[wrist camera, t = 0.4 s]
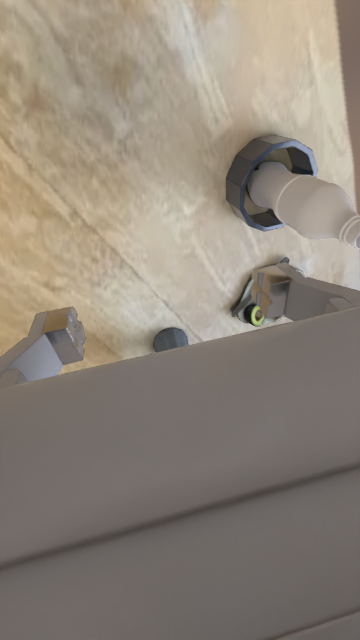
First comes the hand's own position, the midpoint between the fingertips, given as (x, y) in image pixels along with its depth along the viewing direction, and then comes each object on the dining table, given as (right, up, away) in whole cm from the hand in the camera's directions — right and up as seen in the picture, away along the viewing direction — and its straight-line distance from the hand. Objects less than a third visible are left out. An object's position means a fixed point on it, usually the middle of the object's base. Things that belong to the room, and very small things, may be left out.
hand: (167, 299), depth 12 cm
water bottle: (+15, +24, +37) cm, 46 cm away
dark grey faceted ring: (+15, +24, +36) cm, 46 cm away
